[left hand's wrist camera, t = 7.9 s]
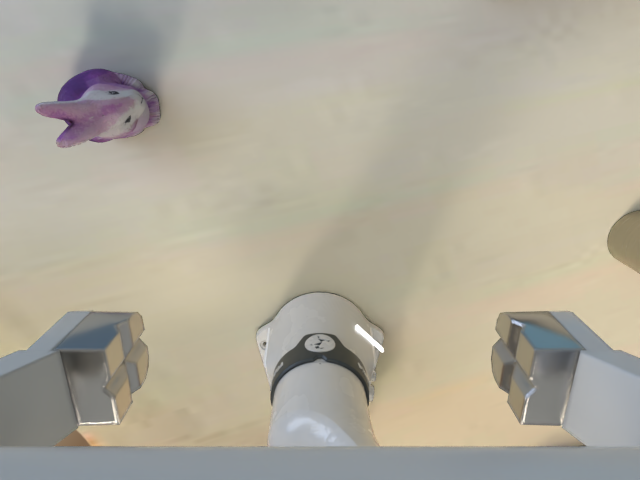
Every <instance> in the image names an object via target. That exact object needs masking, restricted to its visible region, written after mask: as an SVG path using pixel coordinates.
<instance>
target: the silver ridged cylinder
mask: <svg viewBox="0 0 640 480" xmlns="http://www.w3.org/2000/svg"><path fill="white" fill-rule="evenodd" d="M608 249H609V251H610V253H611V255H612V256H613V257H614V258H616V259H617V260H619V261H620V262H622V263H623V264H625V265H627V266H628V267H630V268H631V269H633V270H635V271H636V272H638V273H639V274H640V210H638V211H634V212H631V213H629V214H627V215H625V216H623V217H622V218H621V219H619V220H618V221H617V222H616V223H615V225H614V226H613V227H612V229H611V231H610V233H609V236H608Z"/></svg>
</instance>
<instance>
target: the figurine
mask: <svg viewBox="0 0 640 480" xmlns="http://www.w3.org/2000/svg"><path fill="white" fill-rule="evenodd" d="M35 110H36V112H37V113H39V114H41V115H43V116H46V117H50V118H57V119H61V120H64V121H65V122H66V123H67V124H68V125H69V126H68V127H67V128H66V129H65V130H64V132H63V133H62V134H61V135H60V136H59V137H58V138H57V140H56V144H57V146H58V147H62V148H64V147H65V148H67V147H72V146H75V145H80V144H81V143H83V142H86V141H88V140H90V141H93V142H107V141H110V140H112V139H118V138H126V137H132V136H136V135H138V134H139V133H141V132H142V131H143V129H144V128H145V127H150V126H154V125H155V124H157V123H158V122H159V120H160V110H159V101H158V98H157V96H156V95H155V94H154V93H153V92H151V91H149V90H147V89H145V88H144V86H143V84H142V83H141V82H140V81H139V80H138V79H136V78H133V77H130V76H127V75H123V74H120V73H115V72H111V71H108V70H105V69H91V70H87V71H84V72H82V73H80V74H78V75H76V76H74V77H73V78H71V79H70V80H68V81H67V82H66V83H65V84H64V86H63V87H62V88H61V90H60V92H59V94H58V101H54V102H43V103H39V104H37V105H36V106H35Z"/></svg>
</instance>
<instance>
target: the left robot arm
mask: <svg viewBox="0 0 640 480" xmlns="http://www.w3.org/2000/svg"><path fill="white" fill-rule="evenodd" d="M144 330H145V329H144V324H143V319H142V316H141V315H140V314H139V313H138V312H112V311H72V312H67V313H66V314H65V315H64V316H63V317H62V318H61V319H60V320H59V321H58V322H56V323H55V324H54V325H53V326H52V327H51V328H50V329H49V330H48V331H47V332H46V333H45V334H44V335H42V336H41V337H40V338H39V339H38V340H37V341H36V342H35V343H34V344H33V345H32V346H31V347H30V348H29V349H27V350H19V351H17V352H14V353H12V354H9V355H7V356H4V357H2V358H0V480H640V358H638V357H636V356H633V355H631V354H628V353H626V352H623V351H621V350H613V349H612V348H610V347H609V346H608V345H607V344H606V343H605V342H604V341H603V340H602V339H601V338H600V337H599V336H598V335H597V334H595V333H594V332H593V331H592V330H591V329H590V328H589V327H588V326H587V325H586V324H585V323H584V322H583V321H582V320H580V319H579V318H578V317H577V316H576V315H575V314H574V313H573V312H570V311H536V312H504V313H500V314H499V317H498V319H497V323H496V329H495V330H496V331H497V333H498V334H499V336H500V337H501V338H500V339H499V340H498V341H497V342H496V343H495V344H494V345H493V347H492V356H491V364H492V372H493V375H494V378H495V381H496V383H497V385H498V386H499V388H500V389H502V390H503V391H505V392H507V393H508V394H509V396H508V401H507V402H508V404H509V406H510V407H511V409H512V411H513V413H514V414H515V416H516V418H517V419H518V421H519V423H520V425H555V426H562V428H563V429H564V430H566V431H567V432H568V433H570V434H571V435H572V436H574V437H575V438H576V439H578V440H579V441H580V442H582V443H583V444H584V445H586V446H380V445H379V444H378V442H377V440H376V438H375V435H374V432H373V428H372V424H371V420H370V416H369V411H368V405H369V401H370V402H371V401H373V398H374V386H373V385H371V382H372V381H375V380H376V372H375V368H376V364H377V361H378V357H379V354H380V351H381V352H384V350H383V348H382V344H383V340H384V333H383V331H382V330H381V329H380V328H379V327H377V326H376V325H374V324H372V323H370V322H369V321H368V320H367V319H366V318H365V317H364V315H363V314H362V312H361V311H360V310H359V309H358V308H357V307H356V306H355V305H354V304H353V303H352V302H350V301H349V300H347V299H345V298H343V297H341V296H338V295H335V294H331V293H321V292H319V293H309V294H305V295H302V296H299V297H297V298H295V299H293V300H291V301H290V302H288V303H287V304H286V305H285V306H284V307H283V308H282V309H281V310H280V311H279V312H278V314H277V315H276V317H275V318H274V319H273V320H272V321H271V322H270V323H268V324H266V325H264V326H263V327H261V328H260V329H259V330H258V331H257V333H256V340H257V344H258V347H259V350H260V354H261V357H262V361H263V364H264V368H265V371H266V375H267V378H268V382H269V385H270V391H271V405H272V412H271V420H270V427H269V434H268V446H55V445H56V444H57V443H59V442H60V441H61V440H63V439H64V438H65V437H66V436H68V435H69V434H70V433H72V432H73V431H74V430H76V429H77V428H78V426H85V425H120V423H121V421H122V419H123V418H124V416H125V414H126V413H127V411H128V409H129V407H130V406H131V404H132V402H133V401H132V396H131V394H132V393H133V392H135V391H137V390H138V389H140V388H141V386H142V384H143V383H144V381H145V379H146V375H147V371H148V367H149V354H148V347H147V345H146V344H145V343H144V342H143V341H142V340H141V339H140V338H139V337H140V336H141V334H142V333H143V331H144ZM264 342H266V344H265V343H264Z"/></svg>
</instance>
